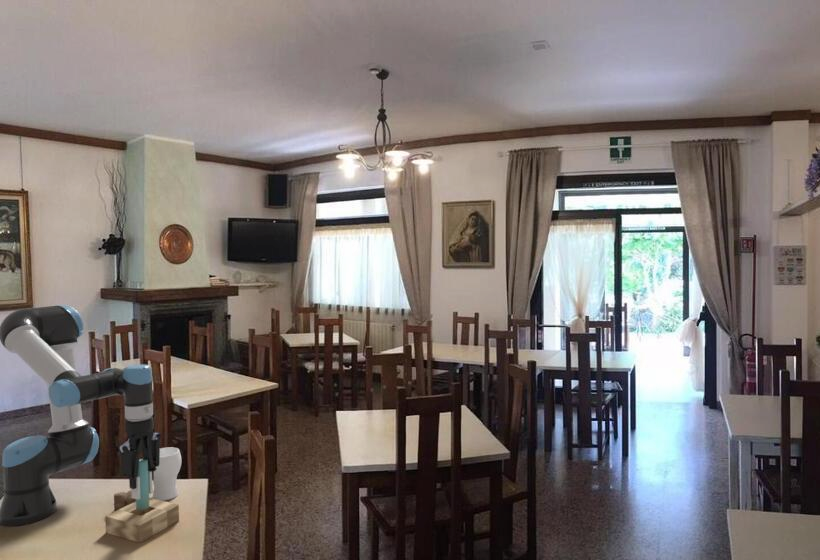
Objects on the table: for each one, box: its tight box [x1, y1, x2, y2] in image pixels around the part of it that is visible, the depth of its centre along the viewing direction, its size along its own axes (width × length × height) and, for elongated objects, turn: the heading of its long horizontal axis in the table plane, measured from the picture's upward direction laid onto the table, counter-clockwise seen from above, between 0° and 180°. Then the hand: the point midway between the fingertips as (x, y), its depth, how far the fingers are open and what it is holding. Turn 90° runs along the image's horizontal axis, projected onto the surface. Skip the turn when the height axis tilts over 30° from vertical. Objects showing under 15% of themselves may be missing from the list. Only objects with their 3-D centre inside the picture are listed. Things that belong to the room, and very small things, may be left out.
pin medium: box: [126, 489, 136, 505], centre depth 181 cm, size 4×4×8 cm
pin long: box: [136, 458, 150, 510], centre depth 166 cm, size 4×4×14 cm
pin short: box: [113, 491, 127, 512], centre depth 178 cm, size 4×4×5 cm
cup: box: [152, 446, 182, 502], centre depth 187 cm, size 11×11×15 cm
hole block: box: [104, 497, 180, 543], centre depth 167 cm, size 14×14×5 cm
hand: (142, 495), depth 166 cm, fingers closed on pin long, 3 cm apart
